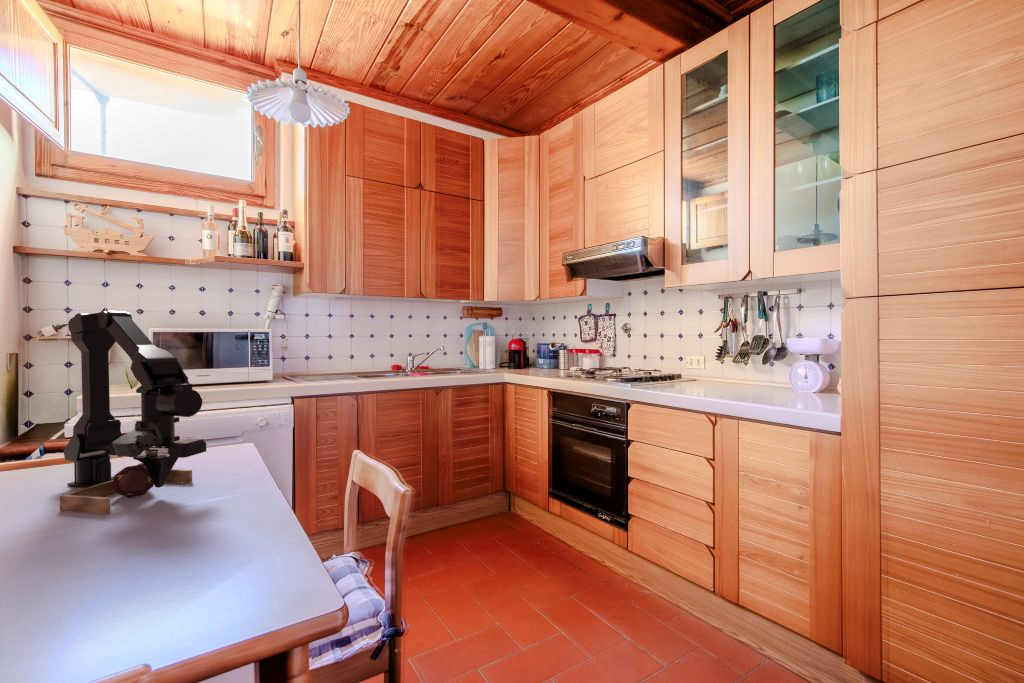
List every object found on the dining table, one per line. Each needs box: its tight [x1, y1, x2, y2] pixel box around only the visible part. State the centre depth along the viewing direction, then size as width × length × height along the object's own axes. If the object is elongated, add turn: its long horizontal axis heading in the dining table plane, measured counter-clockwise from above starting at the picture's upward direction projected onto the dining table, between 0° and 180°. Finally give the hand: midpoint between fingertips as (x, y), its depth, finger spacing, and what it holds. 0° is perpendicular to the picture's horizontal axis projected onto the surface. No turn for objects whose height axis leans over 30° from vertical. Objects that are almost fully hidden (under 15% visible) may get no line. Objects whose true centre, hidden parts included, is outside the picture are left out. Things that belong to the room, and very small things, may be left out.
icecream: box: [112, 462, 155, 499], centre depth 104 cm, size 7×7×15 cm
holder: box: [59, 468, 193, 515], centre depth 104 cm, size 11×20×3 cm, turn 171°
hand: (159, 487), depth 103 cm, fingers closed
